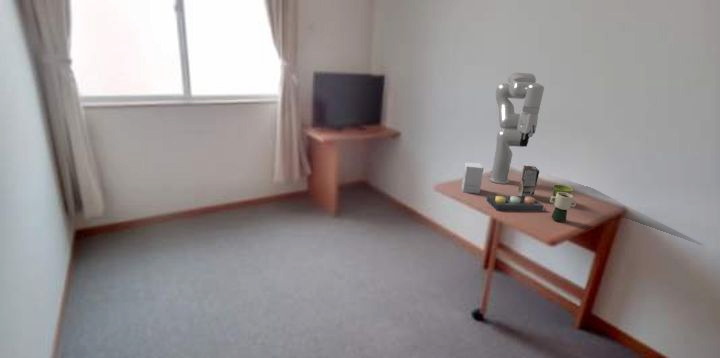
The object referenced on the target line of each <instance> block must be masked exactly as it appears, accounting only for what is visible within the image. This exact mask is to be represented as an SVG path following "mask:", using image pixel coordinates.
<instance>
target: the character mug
mask: <svg viewBox="0 0 720 358" xmlns="http://www.w3.org/2000/svg"><path fill="white" fill-rule="evenodd" d="M553 198H554V199H555V201H553ZM577 202H578V201H577V200H576V199H574V196H573V195H572V193H570V194H568V193H564V192H558V193H557V194H556V197H553V195H552V196H550V200H549V203H551V204H553V207H555V208H554V209H553V212H552V214H551V218H552V219H553V220H554V221H557V222H562V223H564V222H566V221H567V215H568V214H567V213H568V210H570V209H571V207H573V208H575V207H576V206H577ZM572 203H573V204H572Z"/></svg>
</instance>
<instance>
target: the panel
mask: <svg viewBox="0 0 720 358" xmlns="http://www.w3.org/2000/svg"><path fill="white" fill-rule="evenodd" d="M496 196H497V195H487V197H486V202H488V204H490V205H491V206H492V207H493V209H495V210H496V211H497V212H498V211H501V212H503V211H506V212H507V211H511V212H512V211H513V212H528V211H529V212H543V211H544V204H542V203H541V202H539V201H538V200H537V199H536V200H535V203H527V202H525V201H524V200H525V197H526V196H520V195H515V196H516V197H519V198H521V201H520V203H512V202H511V201H510V197H511V196H512V195H502V196H503V197H505V198H506V201H505V203H497V202H496V201H495V197H496ZM530 197H531V196H530Z"/></svg>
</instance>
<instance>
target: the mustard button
mask: <svg viewBox="0 0 720 358" xmlns="http://www.w3.org/2000/svg"><path fill="white" fill-rule="evenodd" d="M495 196H496V197H495V201H496V202H497V203H505V201H506V198H505V197H503V196H504V195H495Z"/></svg>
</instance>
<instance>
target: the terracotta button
mask: <svg viewBox="0 0 720 358" xmlns="http://www.w3.org/2000/svg"><path fill="white" fill-rule="evenodd" d="M535 200H537V199H536V198H535V197H534V196H533V197H530V196H526V197H525V200H524V201H525V202H527V203H535Z"/></svg>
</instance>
